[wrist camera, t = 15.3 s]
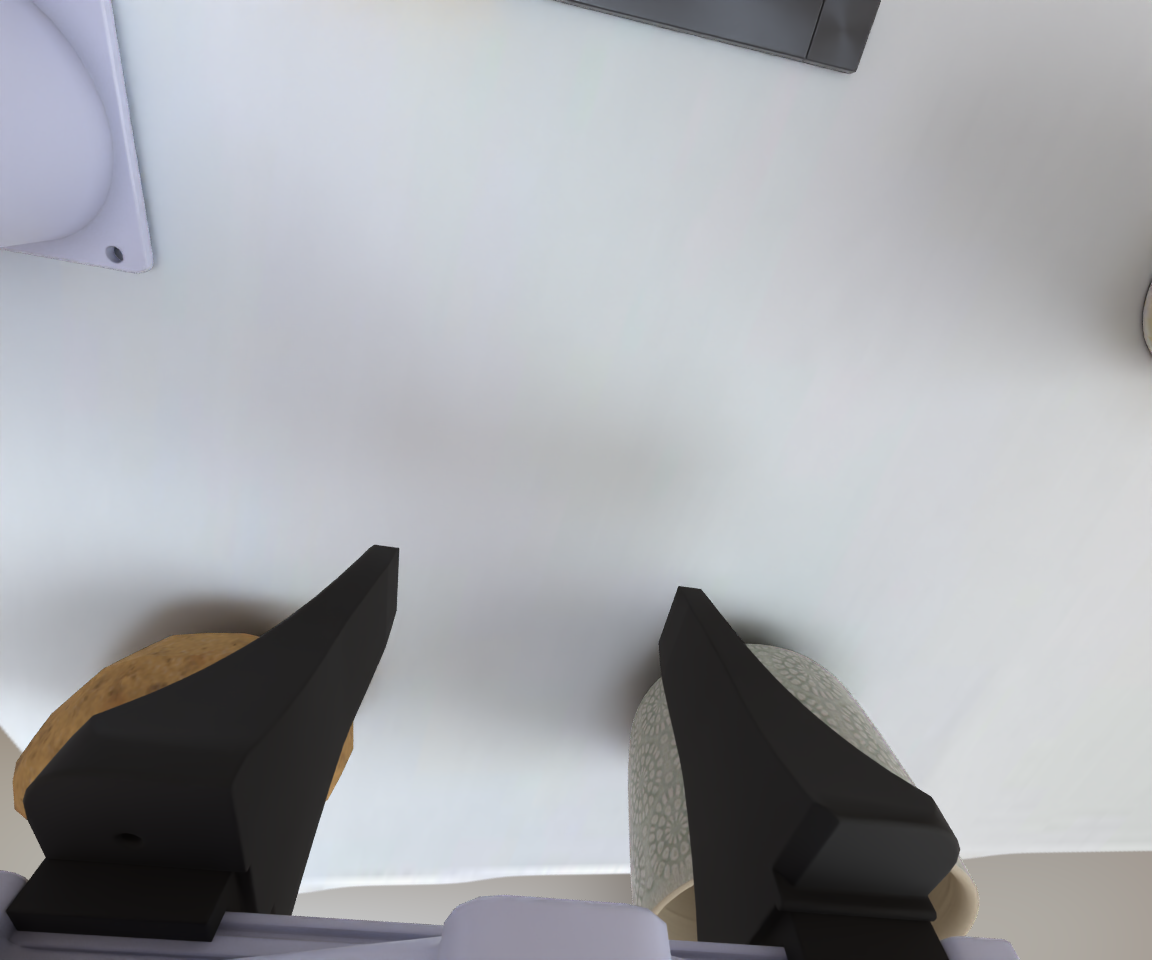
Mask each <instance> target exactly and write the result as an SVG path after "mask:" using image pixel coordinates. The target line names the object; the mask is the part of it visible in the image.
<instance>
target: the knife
mask: <svg viewBox="0 0 1152 960" xmlns="http://www.w3.org/2000/svg"><path fill="white" fill-rule="evenodd" d="M555 1H559V2H563V3H567V4H571V5H575V6H579V7H583V8H587V9H591V10H595V11H599V12H603V13H607V14H611V15H615V16H619V17H623V18H627V19H631V20H636V21H640V22H644V23H648V24H652V25H656V26H660V27H664V28H668V29H672V30H676V31H680V32H684V33H688V34H692V35H696V36H700V37H704V38H708V39H712V40H716V41H720V42H724V43H728V44H732V45H736V46H740V47H744V48H748V49H752V50H757V51H761V52H765V53H769V54H773V55H777V56H781V57H785V58H789V59H793V60H797V61H802V62H805V63H809V64H813V65H817V66H821V67H825V68H829V69H833V70H837V71H841V72H845V73H849V74H850V73H853V72H856V70H857V68H858V65H859V62H860V59H861V56H862V53H863V50H864V48H865V45H866V42H867V39H868V36H869V33H870V30H871V27H872V25H873V22H874V19H875V16H876V13H877V10H878V7H879V5H880V2H881V0H555Z"/></svg>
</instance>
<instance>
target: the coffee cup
mask: <svg viewBox="0 0 1152 960" xmlns="http://www.w3.org/2000/svg"><path fill="white" fill-rule="evenodd" d="M1143 332H1144V338H1145V341H1146V343H1147V346H1148V348H1149V350H1150V352H1151V353H1152V283H1151V286H1150V288H1149V291H1148V293H1147V298H1146V301H1145V306H1144V311H1143Z"/></svg>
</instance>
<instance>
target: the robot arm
mask: <svg viewBox="0 0 1152 960" xmlns="http://www.w3.org/2000/svg"><path fill="white" fill-rule="evenodd" d="M114 247H116V248H118V249H119V250H120V251H121V253H122V255H123V261H122V260H120V259H119V258H118V257H117V256H116V255H115V253H114ZM0 249H3V250H8V251H14V252H19V253H25V254H30V255H36V256H42V257H47V258H53V259H58V260H64V261H70V262H75V263H81V264H86V265H92V266H97V267H103V268H109V269H114V270H120V271H125V272H131V273H143V272H146V271H148V270H150V269H151V268H152V266H153V262H154V258H153V252H152V246H151V240H150V234H149V228H148V222H147V216H146V210H145V204H144V198H143V192H142V185H141V179H140V173H139V167H138V161H137V155H136V149H135V143H134V137H133V131H132V125H131V118H130V112H129V106H128V100H127V94H126V88H125V82H124V76H123V70H122V64H121V58H120V52H119V45H118V39H117V33H116V27H115V21H114V15H113V9H112V3H111V0H0ZM398 567H399V548H394V547H387V546H380V545H373V546H372V547H370V548H369V549H368V550H367V551H366V552H365V553H364V554H363V555H362V556H361V557H360V558H359V559H358V560H357V561H355V562H354V563H353V564H352V565H351V566H350V567H349V568H348V569H347V570H346V571H345V572H344V573H342V574H341V575H340V576H339V577H338V578H337V579H336V580H334V581H333V582H332V583H331V584H330V585H329V586H327V587H326V588H325V589H324V590H323V591H322V592H320V593H319V594H318V595H317V596H316V597H314V598H313V599H312V600H311V601H309V602H308V603H307V604H305V605H304V606H303V607H301V608H300V609H299V610H297V611H296V612H295V613H294V614H292V615H291V616H290V617H288V618H287V619H285V620H284V621H283V622H281V623H280V624H278V625H277V626H275V627H274V628H273V629H271V630H270V631H268V632H267V633H265V634H263V635H262V636H260V637H259V638H257V639H256V640H254V641H252V642H251V643H249V644H248V645H246V646H244V647H242V648H241V649H239V650H237V651H235V652H234V653H232V654H230V655H228V656H226V657H225V658H223V659H221V660H219V661H217V662H215V663H214V664H212V665H210V666H208V667H206V668H204V669H202V670H200V671H198V672H196V673H194V674H192V675H190V676H188V677H186V678H183V679H181V680H179V681H177V682H175V683H172V684H170V685H168V686H166V687H164V688H161V689H159V690H157V691H154V692H152V693H150V694H147V695H145V696H142V697H140V698H137V699H134V700H132V701H129V702H127V703H124V704H122V705H119V706H116V707H114V708H111V709H109V710H106V711H104V712H101V713H98V714H95V715H93V716H92V717H91V718H90V719H89V720H88V721H87V722H86V723H85V724H84V725H83V726H82V727H81V728H80V729H79V730H78V731H77V732H76V733H75V734H74V735H73V736H72V737H71V738H70V739H69V740H68V741H67V742H66V743H65V745H64V746H63V747H62V748H61V749H60V750H59V751H58V753H57V754H56V755H55V756H54V757H53V758H52V760H51V761H50V762H49V763H48V764H47V765H46V767H45V768H44V769H43V770H42V771H41V772H40V774H39V775H38V776H37V777H36V778H35V779H34V780H33V782H32V783H31V784H30V785H29V786H28V787H27V789H26V791H25V794H24V798H23V805H24V809H25V813H26V817H27V820H28V822H29V824H30V826H31V828H32V830H33V832H34V834H35V836H36V838H37V840H38V842H39V844H40V846H41V849H42V851H43V853H44V855H45V857H46V858H45V859H44V861H43V862H42V863H41V865H40V866H39V867H38V869H37V870H36V871H35V873H34V874H33V875H32V877H31V878H30V879H29V881H28V880H27V879H26V878H25V877H23V876H21V875H19V874H16V873H13V872H8V871H3V870H0V960H1020V959H1019V957H1018V955H1017V954H1016V952H1015V950H1014V948H1013V947H1012V945H1011V943H1010V942H1009V941H1006V940H1005V939H995V938H979V937H966V936H955V937H949V938H945V939H942V940H941V941H940V940H939V938H938V936H937V934H936V932H935V930H934V928H933V926H932V924H931V922H930V921H932V922H934V921H935V920H936V919H937V913H936V911H935V909H934V907H933V905H932V903H931V901H930V899H929V897H928V895H929V893H930V892H931V891H932V890H933V889H934V888H935V887H936V886H937V885H938V884H939V883H940V882H941V881H942V880H943V879H944V878H945V877H946V875H947V874H948V873H949V872H950V871H951V870H952V868H953V867H954V865H955V864H956V863H957V860H958V856H959V852H960V847H959V844H958V840H957V838H956V837H955V835H954V833H953V832H952V830H951V828H950V827H949V825H948V823H947V822H946V820H945V818H944V816H943V815H942V813H941V811H940V810H939V808H938V806H937V805H936V803H935V801H934V800H933V798H932V797H931V796H929V795H928V794H926V793H924V792H923V791H921V790H920V789H918V788H916V787H915V786H913V785H912V784H910V783H908V782H907V781H905V780H904V779H902V778H900V777H899V776H897V775H895V774H894V773H892V772H891V771H889V770H888V769H886V768H885V767H883V766H882V765H880V764H879V763H877V762H876V761H874V760H873V759H872V758H870V757H869V756H867V755H866V754H865V753H863V752H862V751H860V750H859V749H857V748H856V747H855V746H853V745H852V744H851V743H849V742H848V741H847V740H845V739H844V738H843V737H842V736H840V735H839V734H838V733H837V732H835V731H834V730H833V729H832V728H830V727H829V726H828V725H827V724H825V723H824V722H823V721H822V720H821V719H819V718H818V717H817V716H816V715H815V714H813V713H812V712H811V711H810V710H809V709H808V708H807V707H805V706H804V705H803V704H802V703H801V702H800V701H799V700H798V699H797V698H796V697H795V696H794V695H793V694H792V693H791V692H789V691H788V690H787V689H786V688H785V687H784V686H783V685H782V684H781V683H780V682H779V681H778V680H777V679H776V678H775V677H774V676H773V675H772V673H771V672H770V671H769V670H768V669H767V668H766V667H765V666H764V665H763V664H762V663H761V662H760V661H759V659H758V658H757V657H756V656H755V655H754V654H753V653H752V651H751V650H750V649H749V648H748V647H747V646H746V644H745V643H744V642H743V641H742V640H741V638H740V637H739V636H738V635H737V634H736V632H735V631H734V630H733V629H732V627H731V626H730V625H729V624H728V622H727V621H726V620H725V619H724V617H723V616H722V615H721V614H720V612H719V611H718V610H717V609H716V607H715V606H714V605H713V603H712V602H711V601H710V600H709V598H708V597H707V596H706V595H705V593H704V592H703V591H702V590H701V589H697V588H689V587H682V586H678V589H677V592H676V594H675V597H674V600H673V603H672V606H671V609H670V611H669V614H668V617H667V620H666V623H665V626H664V629H663V631H662V634H661V637H660V640H659V656H660V668H661V677H662V683H663V688H664V692H665V697H666V702H667V706H668V711H669V715H670V720H671V724H672V728H673V733H674V737H675V742H676V746H677V750H678V755H679V759H680V765H681V770H682V776H683V783H684V791H685V799H686V807H687V816H688V825H689V835H690V845H691V855H692V867H693V880H694V893H695V906H696V924H697V942H696V941H681V940H669V939H668V932H667V925H666V923H665V922H664V921H663V920H662V919H660V918H659V917H658V916H657V915H655V914H654V913H653V912H652V911H650V910H649V909H648V908H643V907H639V906H634V905H630V904H625V903H612V902H598V901H583V900H569V899H555V898H541V897H527V896H513V895H498V896H483V897H477V898H475V899H472V900H470V901H467V902H465V903H462V904H460V905H459V906H457V907H456V908H455V909H454V910H453V911H452V913H451V914H450V915H449V917H448V918H447V919H446V921H445V922H444V925H429V924H414V923H398V922H383V921H367V920H352V919H351V920H350V919H335V918H320V917H304V916H291V915H292V912H293V908H294V905H295V901H296V898H297V894H298V891H299V887H300V884H301V880H302V877H303V873H304V870H305V867H306V863H307V860H308V857H309V853H310V850H311V847H312V843H313V840H314V837H315V833H316V830H317V827H318V823H319V820H320V817H321V814H322V811H323V807H324V804H325V801H326V798H327V795H328V791H329V788H330V785H331V782H332V779H333V776H334V773H335V770H336V767H337V764H338V761H339V758H340V755H341V751H342V748H343V745H344V743H345V740H346V738H347V735H348V733H349V730H350V727H351V725H352V723H353V720H354V718H355V716H356V714H357V711H358V709H359V707H360V705H361V702H362V700H363V698H364V695H365V693H366V691H367V689H368V686H369V684H370V682H371V680H372V677H373V675H374V673H375V670H376V668H377V666H378V664H379V661H380V659H381V657H382V654H383V652H384V650H385V647H386V644H387V641H388V638H389V634H390V631H391V628H392V624H393V621H394V617H395V614H396V611H397V589H398Z"/></svg>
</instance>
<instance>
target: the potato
mask: <svg viewBox="0 0 1152 960" xmlns="http://www.w3.org/2000/svg"><path fill="white" fill-rule="evenodd" d="M257 638H259V636H255V635H250V634H246V633H196V634H182V635H172V636H170V637H167V638H165V639H163V640H161V641H159V642H157V643H154V644H152V645H150V646H148V647H146V648H144V649H141V650H139V651H137V652H135V653H133V654H131V655H129V656H127V657H125V658H123V659H121V660H119V661H117V662H115V663H113V664H112V665H110V666H108V667H106V668H104V669H103V670H101V671H100V672H99V673H98V674H97V675H96V676H94V677H93V678H92V679H91V680H90V681H89V682H87V683H86V684H85V685H84V686H83V687H82V688H80V689H79V690H78V691H77V692H76V693H75V694H74V695H72V696H71V697H70V698H69V699H68V700H67V701H66V702H64V703H63V704H62V705H61V706H60V707H59V708H58V709H57V710H55V711H54V712H53V713H52V714H51V715H50V716H49V718H48V719H47V720H46V722H45V723H44V724H43V726H42V727H41V728H40V730H39V731H38V732H37V734H36V735H35V736H34V738H33V739H32V740H31V742H30V743H29V745H28V746H27V748H26V749H25V750H24V752H23V753H22V755H21V756H20V758H19V759H18V760H17V762H16V767H15V772H14V777H13V791H14V807H15V810H16V811H17V812H19V813H20V814H21V815H22V816H23V817H24V818H25V819H27V817H26V813H25V809H24V805H23V798H24V794H25V791H26V789H27V787H28V786H29V785H30V784H31V783H32V782H33V780H34V779H35V778H36V777H37V776H38V775H39V774H40V772H41V771H42V770H43V769H44V768H45V767H46V765H47V764H48V763H49V762H50V761H51V760H52V758H53V757H54V756H55V755H56V754H57V753H58V751H59V750H60V749H61V748H62V747H63V746H64V745H65V743H66V742H67V741H68V740H69V739H70V738H71V737H72V736H73V735H74V734H75V733H76V732H77V731H78V730H79V729H80V728H81V727H82V726H83V725H84V724H85V723H86V722H87V721H88V720H89V719H90V718H91V717H92V716H93V715H95V714H98V713H101V712H104V711H106V710H109V709H111V708H114V707H116V706H119V705H122V704H124V703H127V702H129V701H132V700H134V699H137V698H140V697H142V696H145V695H147V694H150V693H152V692H154V691H157V690H159V689H161V688H164V687H166V686H168V685H170V684H172V683H175V682H177V681H179V680H181V679H183V678H186V677H188V676H190V675H192V674H194V673H196V672H198V671H200V670H202V669H204V668H206V667H208V666H210V665H212V664H214V663H215V662H217V661H219V660H221V659H223V658H225V657H226V656H228V655H230V654H232V653H234V652H235V651H237V650H239V649H241V648H242V647H244V646H246V645H248V644H249V643H251V642H252V641H254V640H256V639H257ZM352 750H353V723H352V725H351V727H350V730H349V733H348V735H347V738H346V740H345V743H344V745H343V748H342V751H341V755H340V758H339V761H338V764H337V767H336V770H335V773H334V776H333V779H332V782H331V785H330V788H329V791H328V795H327V798H326V800H328V798H329V796H330V795H331V793H332V791H333V789H334V787H335V785H336V783H337V782H338V780H339V778H340V776H341V774H342V772H343V770H344V768H345V765H346V763H347V761H348V759H349V757H350V755H351V752H352Z"/></svg>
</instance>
